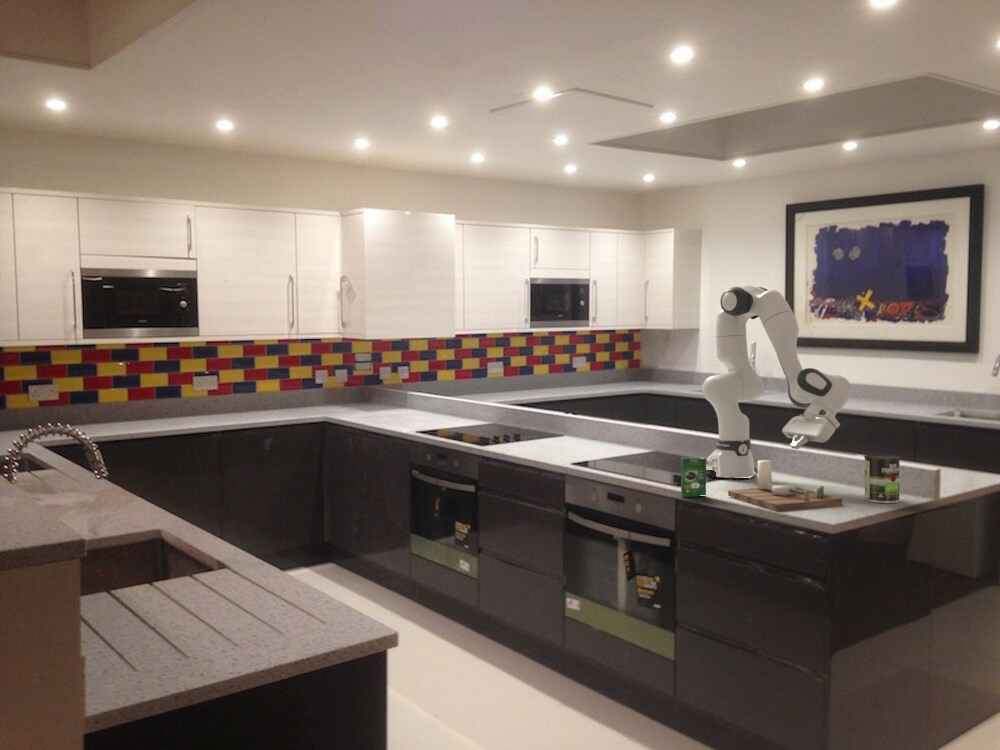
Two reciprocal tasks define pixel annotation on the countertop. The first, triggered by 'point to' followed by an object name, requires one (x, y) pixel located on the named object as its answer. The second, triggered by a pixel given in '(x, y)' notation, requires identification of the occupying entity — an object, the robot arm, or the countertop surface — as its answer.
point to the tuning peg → (766, 481)
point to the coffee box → (693, 477)
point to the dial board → (786, 499)
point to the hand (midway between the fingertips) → (793, 447)
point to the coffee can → (882, 478)
